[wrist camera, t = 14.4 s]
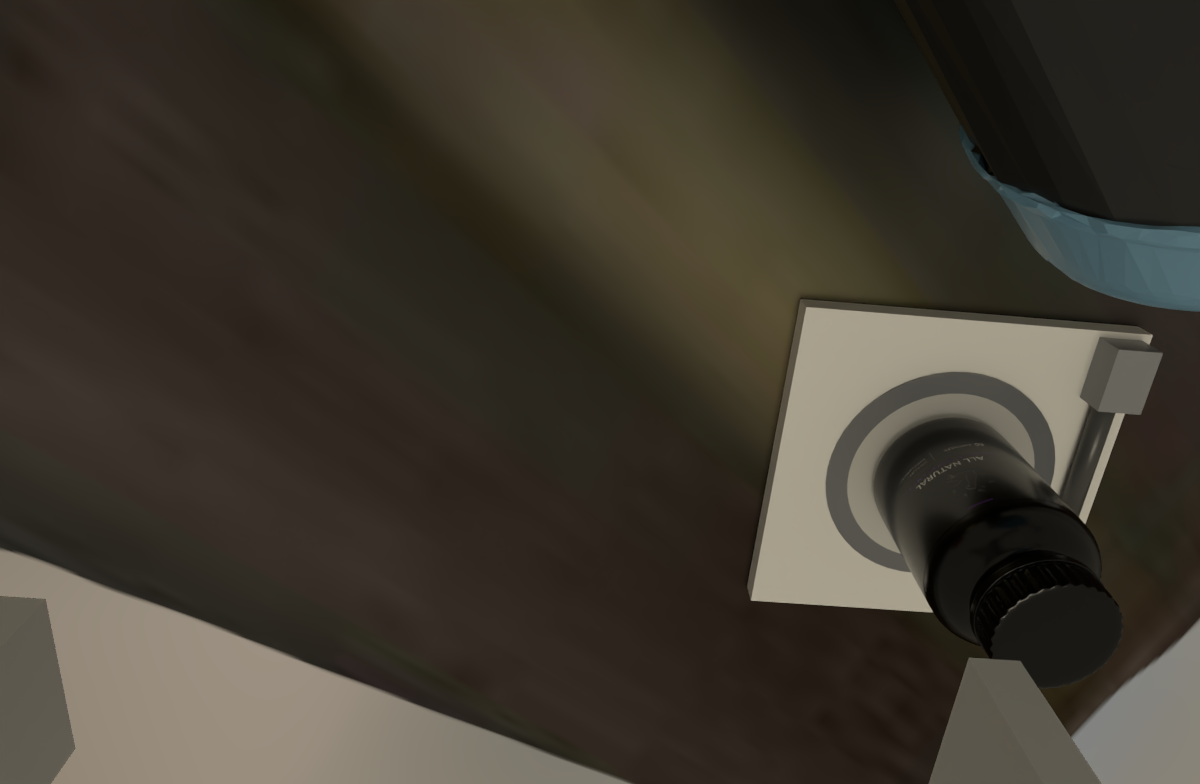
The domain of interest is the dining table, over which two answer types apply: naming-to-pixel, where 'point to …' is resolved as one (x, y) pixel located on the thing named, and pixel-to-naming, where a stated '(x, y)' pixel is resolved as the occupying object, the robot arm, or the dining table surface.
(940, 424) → the supplement bottle
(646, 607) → the dining table surface
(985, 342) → the record player
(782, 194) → the dining table surface
